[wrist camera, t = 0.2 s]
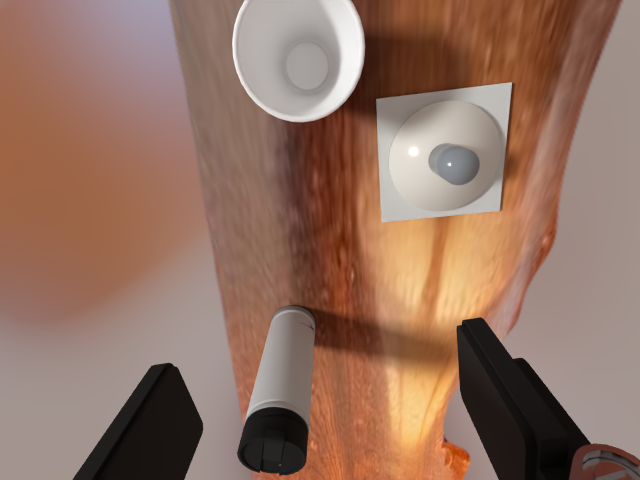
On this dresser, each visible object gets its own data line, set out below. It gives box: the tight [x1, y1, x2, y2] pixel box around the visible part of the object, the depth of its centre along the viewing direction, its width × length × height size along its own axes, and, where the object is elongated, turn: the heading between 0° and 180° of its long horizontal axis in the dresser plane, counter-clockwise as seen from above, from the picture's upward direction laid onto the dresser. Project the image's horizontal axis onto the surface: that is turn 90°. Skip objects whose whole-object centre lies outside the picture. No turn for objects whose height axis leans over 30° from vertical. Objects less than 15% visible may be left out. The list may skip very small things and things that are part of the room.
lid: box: [388, 101, 500, 211], centre depth 35 cm, size 12×12×6 cm
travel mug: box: [237, 306, 315, 475], centre depth 38 cm, size 6×7×20 cm
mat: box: [376, 82, 512, 222], centre depth 38 cm, size 14×14×1 cm
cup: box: [232, 0, 365, 122], centre depth 30 cm, size 10×10×11 cm
